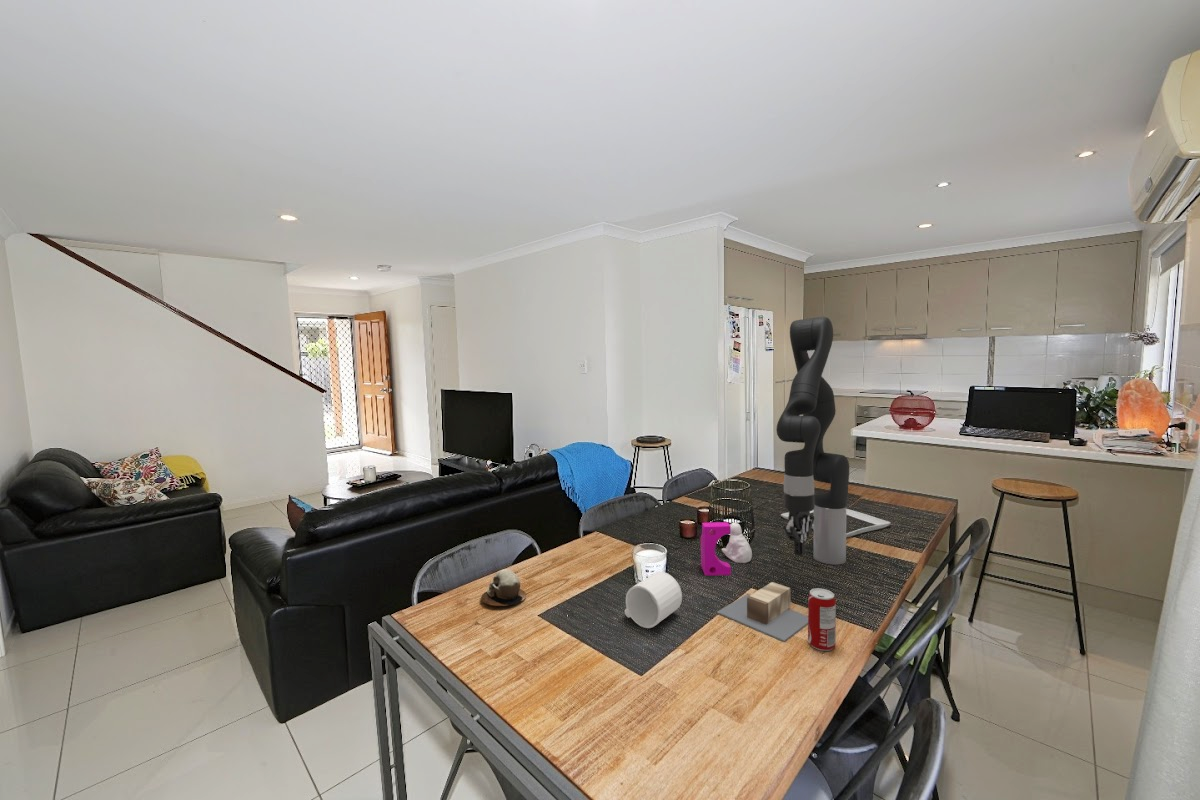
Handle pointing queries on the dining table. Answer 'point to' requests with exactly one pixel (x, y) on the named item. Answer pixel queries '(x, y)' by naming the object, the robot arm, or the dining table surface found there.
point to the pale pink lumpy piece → (737, 546)
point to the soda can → (821, 619)
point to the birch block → (768, 602)
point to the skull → (504, 589)
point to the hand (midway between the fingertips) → (799, 554)
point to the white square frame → (861, 516)
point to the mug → (653, 599)
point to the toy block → (713, 548)
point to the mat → (776, 628)
